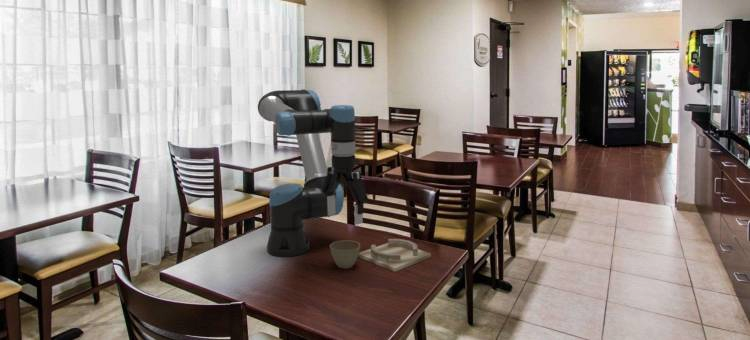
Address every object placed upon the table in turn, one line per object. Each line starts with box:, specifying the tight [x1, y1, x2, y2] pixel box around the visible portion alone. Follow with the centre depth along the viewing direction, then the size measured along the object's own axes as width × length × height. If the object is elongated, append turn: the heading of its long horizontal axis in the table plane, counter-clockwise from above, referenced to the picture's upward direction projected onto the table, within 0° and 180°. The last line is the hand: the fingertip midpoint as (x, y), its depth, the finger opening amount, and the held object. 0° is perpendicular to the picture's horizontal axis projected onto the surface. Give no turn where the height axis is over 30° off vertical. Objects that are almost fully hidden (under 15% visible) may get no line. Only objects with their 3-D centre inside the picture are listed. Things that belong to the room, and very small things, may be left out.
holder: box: [357, 238, 432, 273], centre depth 171 cm, size 18×18×4 cm
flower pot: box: [329, 239, 361, 269], centre depth 163 cm, size 10×10×7 cm
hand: (344, 219), depth 161 cm, fingers open, 13 cm apart
